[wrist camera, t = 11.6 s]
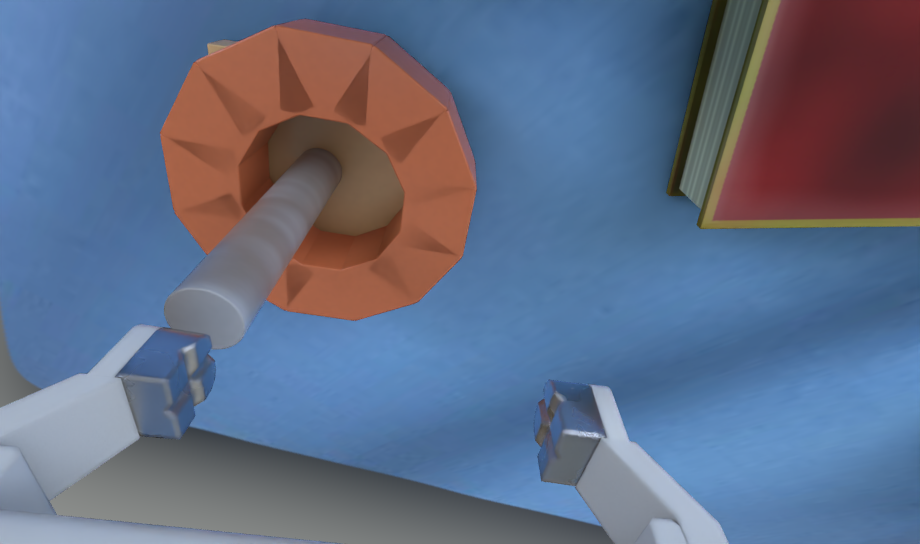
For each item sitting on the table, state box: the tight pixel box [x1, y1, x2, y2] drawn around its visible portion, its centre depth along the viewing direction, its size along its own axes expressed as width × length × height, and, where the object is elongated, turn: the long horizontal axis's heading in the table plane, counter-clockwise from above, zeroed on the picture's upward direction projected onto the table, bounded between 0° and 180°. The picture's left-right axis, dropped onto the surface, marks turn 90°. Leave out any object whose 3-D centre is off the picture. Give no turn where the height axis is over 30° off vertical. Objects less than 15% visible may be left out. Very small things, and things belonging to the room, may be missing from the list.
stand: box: [164, 39, 404, 349], centre depth 17 cm, size 9×9×12 cm
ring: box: [160, 19, 477, 321], centre depth 20 cm, size 12×12×3 cm
